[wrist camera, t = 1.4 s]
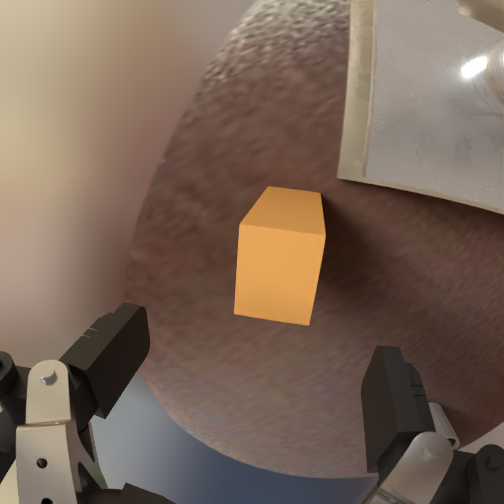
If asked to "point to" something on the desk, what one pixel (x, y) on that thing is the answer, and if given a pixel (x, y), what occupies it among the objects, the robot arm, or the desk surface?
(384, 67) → the two-tier square platform
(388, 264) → the desk surface
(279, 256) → the orange rectangular prism
